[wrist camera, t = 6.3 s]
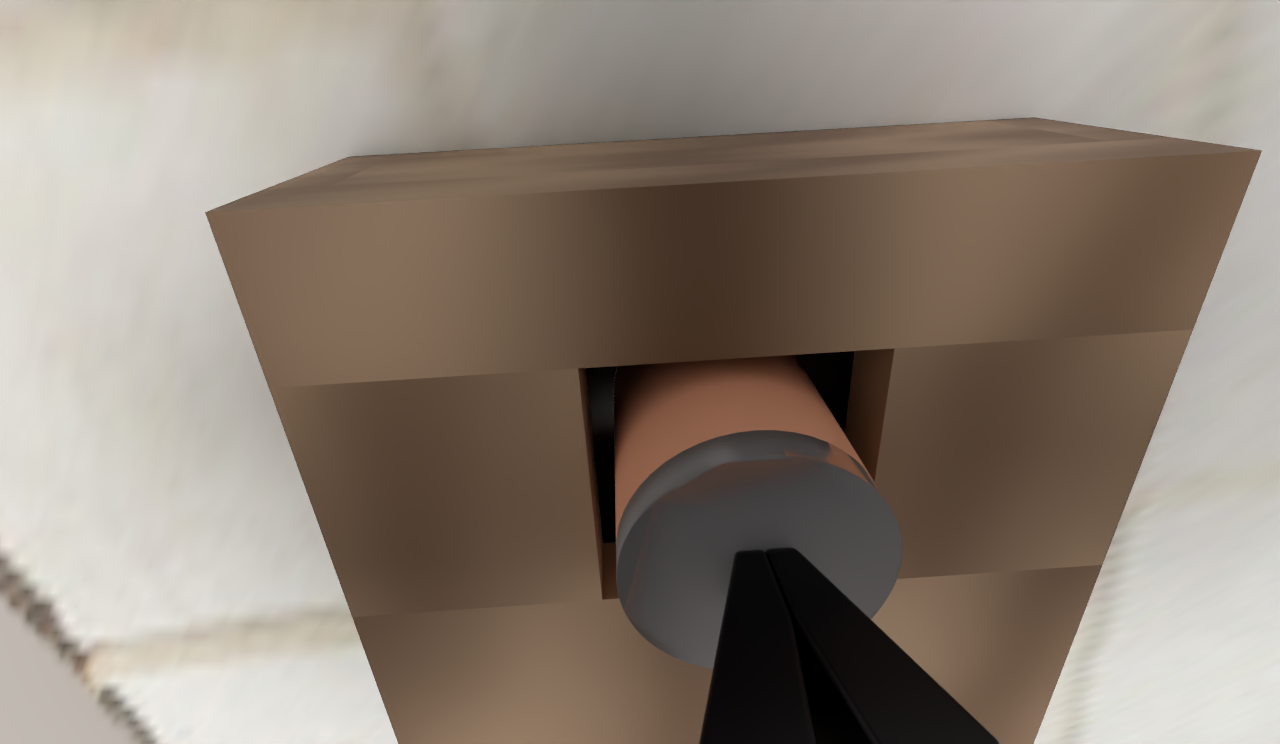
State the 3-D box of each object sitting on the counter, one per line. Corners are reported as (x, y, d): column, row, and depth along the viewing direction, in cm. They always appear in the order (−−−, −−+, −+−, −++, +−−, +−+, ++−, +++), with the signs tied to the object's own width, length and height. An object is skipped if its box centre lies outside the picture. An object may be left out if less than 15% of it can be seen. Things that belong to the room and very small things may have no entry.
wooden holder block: (1034, 117, 13) (1261, 150, 8) (890, 764, 23) (959, 936, 18) (348, 157, 13) (206, 211, 8) (507, 792, 23) (482, 974, 18)
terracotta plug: (802, 295, 13) (923, 445, 8) (790, 457, 15) (882, 661, 10) (607, 308, 13) (605, 466, 8) (619, 468, 14) (625, 679, 10)
